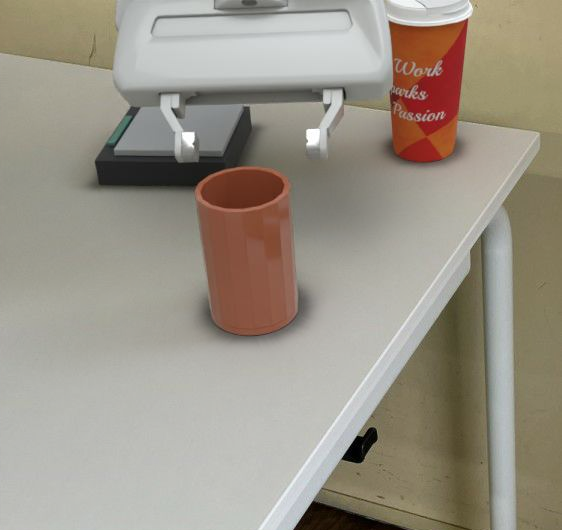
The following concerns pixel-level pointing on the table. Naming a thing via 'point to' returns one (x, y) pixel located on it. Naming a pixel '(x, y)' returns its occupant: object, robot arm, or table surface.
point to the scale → (173, 146)
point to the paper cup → (426, 75)
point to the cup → (248, 249)
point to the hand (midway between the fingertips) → (251, 158)
